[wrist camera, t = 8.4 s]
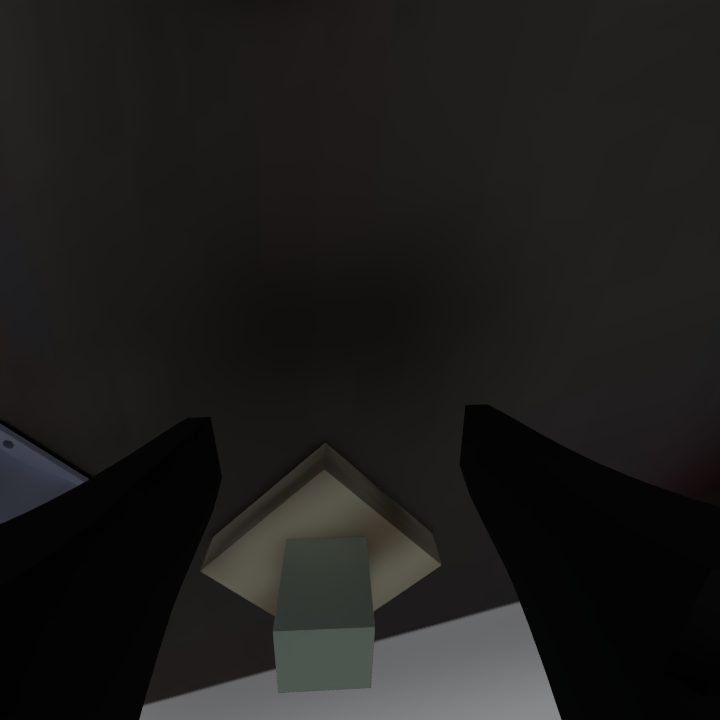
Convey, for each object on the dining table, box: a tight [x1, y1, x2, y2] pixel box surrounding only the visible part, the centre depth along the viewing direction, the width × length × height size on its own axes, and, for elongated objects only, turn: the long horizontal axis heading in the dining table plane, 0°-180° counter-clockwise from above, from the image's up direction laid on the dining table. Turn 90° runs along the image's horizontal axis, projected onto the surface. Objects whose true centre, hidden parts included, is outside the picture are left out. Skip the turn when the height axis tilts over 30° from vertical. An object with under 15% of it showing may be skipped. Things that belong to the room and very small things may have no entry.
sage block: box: [273, 537, 375, 693], centre depth 20 cm, size 4×4×5 cm
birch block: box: [201, 443, 441, 616], centre depth 24 cm, size 10×10×3 cm
